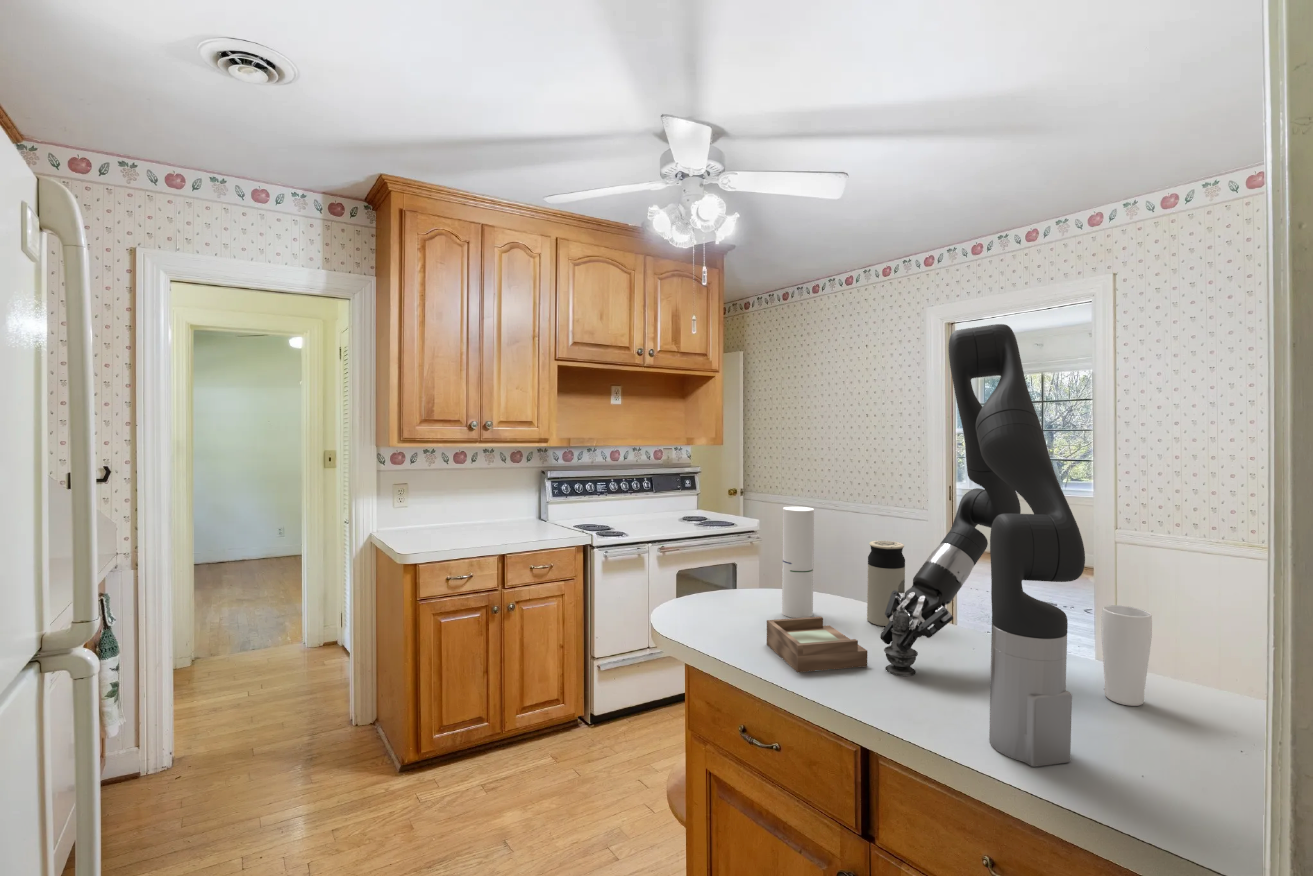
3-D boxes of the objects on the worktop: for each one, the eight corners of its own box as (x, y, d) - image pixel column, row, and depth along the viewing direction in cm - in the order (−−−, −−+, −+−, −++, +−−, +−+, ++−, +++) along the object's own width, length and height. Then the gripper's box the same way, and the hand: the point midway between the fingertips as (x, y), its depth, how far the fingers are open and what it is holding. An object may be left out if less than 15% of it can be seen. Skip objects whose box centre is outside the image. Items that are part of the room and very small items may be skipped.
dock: (867, 666, 122) (867, 640, 122) (797, 672, 119) (798, 645, 119) (829, 639, 137) (829, 615, 136) (766, 644, 134) (766, 620, 133)
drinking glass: (1146, 697, 109) (1149, 608, 108) (1152, 713, 103) (1155, 619, 103) (1097, 688, 112) (1100, 602, 112) (1100, 703, 107) (1103, 612, 106)
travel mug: (859, 620, 149) (860, 542, 148) (880, 614, 154) (881, 538, 153) (890, 630, 143) (891, 548, 142) (911, 623, 147) (912, 544, 147)
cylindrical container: (794, 607, 159) (795, 505, 158) (819, 614, 154) (820, 509, 153) (775, 612, 155) (776, 508, 154) (799, 620, 149) (801, 511, 148)
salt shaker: (920, 678, 117) (921, 611, 116) (886, 675, 118) (886, 609, 117) (914, 665, 122) (915, 602, 122) (881, 663, 124) (882, 600, 123)
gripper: (905, 553, 129) (854, 621, 125) (964, 568, 116) (909, 645, 111) (925, 577, 131) (876, 645, 127) (985, 595, 118) (932, 671, 114)
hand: (892, 644), depth 119 cm, fingers closed on salt shaker, 3 cm apart
